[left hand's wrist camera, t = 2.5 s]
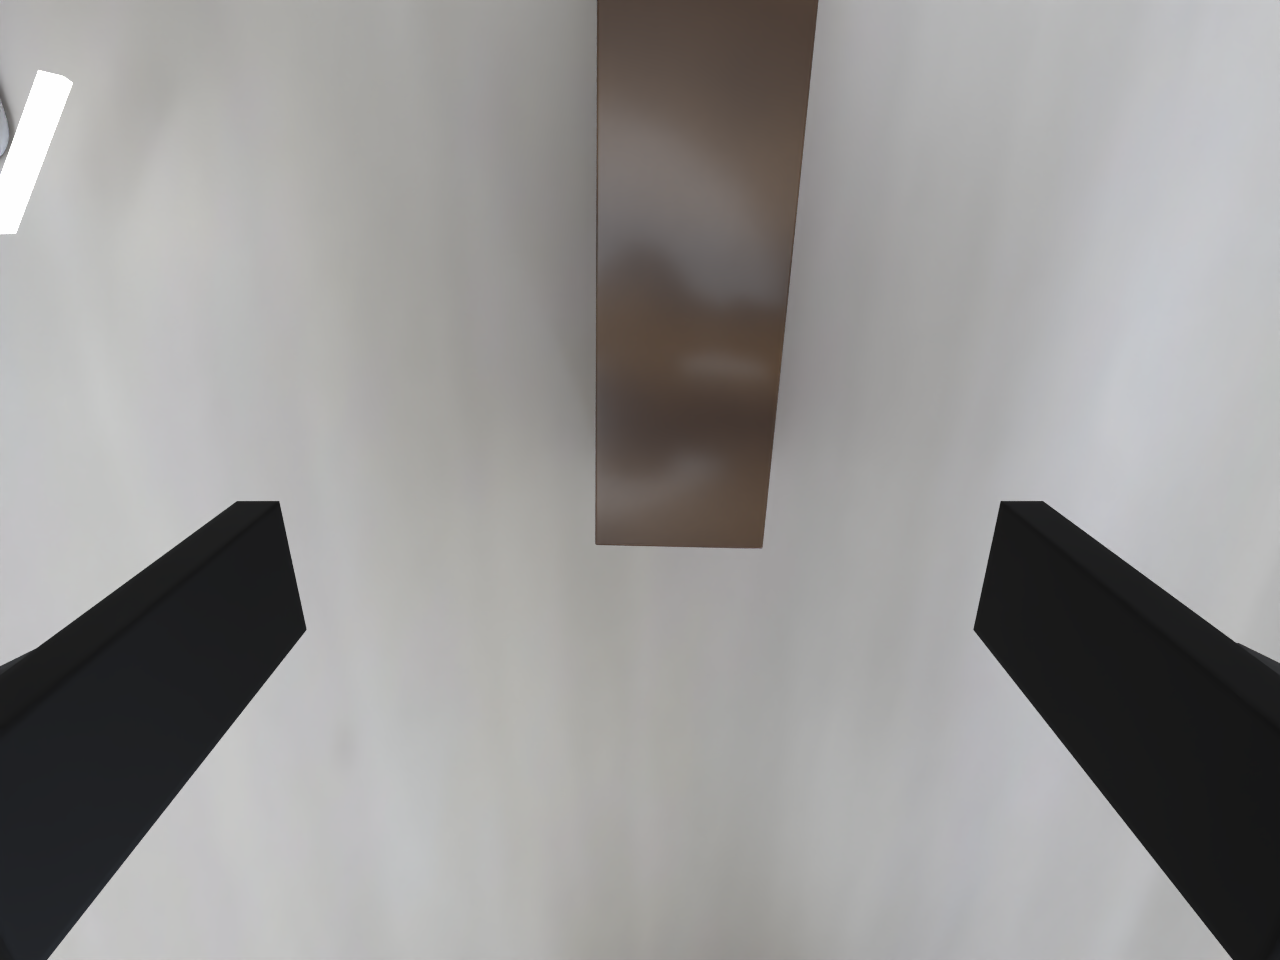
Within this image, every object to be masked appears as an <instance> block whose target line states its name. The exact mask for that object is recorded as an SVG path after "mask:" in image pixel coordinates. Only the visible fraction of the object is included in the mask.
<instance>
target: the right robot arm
mask: <svg viewBox="0 0 1280 960" xmlns="http://www.w3.org/2000/svg"><path fill="white" fill-rule="evenodd" d="M71 86H72V82H71V81H69V80H68V79H66V78H65V77H63V76H61V75H57V74H52V73H48V72H44V71H40V70H38V73H37V76H36V79H35V81H34V84H33V87H32V90H31V92H30V95H29V98H28V101H27V103H26V106H25V109H24V112H23V115H22V117H21V120H20V123H19V126H18V128H17V131H16V134H15V137H14V140H13V142H12V145H11V148H10V151H9V153H8V156H7V159H6V162H5V165H4V167H3V170H2V173H1V176H0V234H10V233H16V231H17V229H18V226H19V224H20V221H21V218H22V216H23V213H24V210H25V208H26V205H27V202H28V200H29V197H30V194H31V192H32V189H33V187H34V184H35V181H36V179H37V176H38V173H39V171H40V168H41V165H42V163H43V160H44V157H45V155H46V152H47V150H48V147H49V144H50V142H51V139H52V136H53V134H54V131H55V128H56V126H57V123H58V120H59V118H60V115H61V112H62V110H63V107H64V105H65V102H66V99H67V97H68V94H69V91H70V89H71ZM8 141H9V128H8V122H7V118H6V114H5V111H4V108H3V105H2V102H1V99H0V156H1V155H2V154H3V153H4V151H5V150H6V148H7V145H8Z"/></svg>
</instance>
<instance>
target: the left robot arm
mask: <svg viewBox="0 0 1280 960" xmlns="http://www.w3.org/2000/svg"><path fill="white" fill-rule="evenodd" d="M305 631H306V625H305V620H304V616H303V611H302V606H301V601H300V597H299V592H298V587H297V583H296V578H295V573H294V569H293V564H292V559H291V555H290V550H289V545H288V540H287V536H286V531H285V526H284V522H283V517H282V512H281V508H280V503H279V501H237V502H235V503H234V504H233V505H231V506H230V507H229V508H227V509H226V510H224V511H223V512H222V513H220V514H219V515H218V516H216V517H215V518H214V519H212V520H211V521H209V522H208V523H207V524H205V525H204V526H203V527H201V528H200V529H199V530H197V531H196V532H194V533H193V534H192V535H190V536H189V537H188V538H186V539H185V540H184V541H182V542H181V543H179V544H178V545H177V546H175V547H174V548H173V549H171V550H170V551H169V552H167V553H166V554H164V555H163V556H162V557H160V558H159V559H158V560H156V561H155V562H154V563H152V564H151V565H149V566H148V567H147V568H145V569H144V570H143V571H141V572H140V573H139V574H137V575H136V576H134V577H133V578H132V579H130V580H129V581H128V582H126V583H125V584H124V585H122V586H121V587H119V588H118V589H117V590H115V591H114V592H113V593H111V594H110V595H109V596H107V597H106V598H105V599H103V600H102V601H100V602H99V603H98V604H96V605H95V606H94V607H92V608H91V609H90V610H88V611H87V612H85V613H84V614H83V615H81V616H80V617H79V618H77V619H76V620H75V621H73V622H72V623H70V624H69V625H68V626H66V627H65V628H64V629H62V630H61V631H60V632H58V633H57V634H55V635H54V636H53V637H51V638H50V639H49V640H47V641H46V642H45V643H43V644H42V645H40V646H39V647H38V648H36V649H34V650H32V651H30V652H28V653H26V654H24V655H22V656H20V657H18V658H16V659H14V660H12V661H10V662H8V663H6V664H4V665H2V666H0V960H47V959H48V958H49V957H50V955H51V954H52V953H53V952H54V950H55V949H56V948H57V946H58V945H59V944H60V943H61V941H62V940H63V939H64V938H65V936H66V935H67V934H68V932H69V931H70V930H71V929H72V927H73V926H74V925H75V924H76V922H77V921H78V920H79V918H80V917H81V916H82V915H83V913H84V912H85V911H86V910H87V908H88V907H89V906H90V904H91V903H92V902H93V901H94V899H95V898H96V897H97V896H98V894H99V893H100V892H101V890H102V889H103V888H104V887H105V885H106V884H107V883H108V882H109V880H110V879H111V878H112V877H113V875H114V874H115V873H116V871H117V870H118V869H119V868H120V866H121V865H122V864H123V863H124V861H125V860H126V859H127V857H128V856H129V855H130V854H131V852H132V851H133V850H134V849H135V847H136V846H137V845H138V843H139V842H140V841H141V840H142V838H143V837H144V836H145V835H146V833H147V832H148V831H149V829H150V828H151V827H152V826H153V824H154V823H155V822H156V821H157V819H158V818H159V817H160V815H161V814H162V813H163V812H164V810H165V809H166V808H167V807H168V805H169V804H170V803H171V801H172V800H173V799H174V798H175V796H176V795H177V794H178V793H179V791H180V790H181V789H182V787H183V786H184V785H185V784H186V782H187V781H188V780H189V779H190V777H191V776H192V775H193V773H194V772H195V771H196V770H197V768H198V767H199V766H200V765H201V763H202V762H203V761H204V759H205V758H206V757H207V756H208V754H209V753H210V752H211V751H212V749H213V748H214V747H215V745H216V744H217V743H218V742H219V740H220V739H221V738H222V737H223V735H224V734H225V733H226V731H227V730H228V729H229V728H230V726H231V725H232V724H233V723H234V721H235V720H236V719H237V718H238V716H239V715H240V714H241V712H242V711H243V710H244V709H245V707H246V706H247V705H248V704H249V702H250V701H251V700H252V698H253V697H254V696H255V695H256V693H257V692H258V691H259V690H260V688H261V687H262V686H263V684H264V683H265V682H266V681H267V679H268V678H269V677H270V676H271V674H272V673H273V672H274V670H275V669H276V668H277V667H278V665H279V664H280V663H281V662H282V660H283V659H284V658H285V656H286V655H287V654H288V653H289V651H290V650H291V649H292V648H293V646H294V645H295V644H296V642H297V641H298V640H299V639H300V637H301V636H302V635H303V634H304V632H305ZM974 631H975V632H976V634H977V635H978V636H979V637H980V639H981V640H982V641H983V642H984V644H985V645H986V646H987V648H988V649H989V650H990V651H991V653H992V654H993V655H994V656H995V658H996V659H997V660H998V662H999V663H1000V664H1001V665H1002V667H1003V668H1004V669H1005V670H1006V672H1007V673H1008V674H1009V676H1010V677H1011V678H1012V679H1013V681H1014V682H1015V683H1016V684H1017V686H1018V687H1019V688H1020V690H1021V691H1022V692H1023V693H1024V695H1025V696H1026V697H1027V698H1028V700H1029V701H1030V702H1031V704H1032V705H1033V706H1034V707H1035V709H1036V710H1037V711H1038V712H1039V714H1040V715H1041V716H1042V718H1043V719H1044V720H1045V721H1046V723H1047V724H1048V725H1049V726H1050V728H1051V729H1052V730H1053V731H1054V733H1055V734H1056V735H1057V737H1058V738H1059V739H1060V740H1061V742H1062V743H1063V744H1064V745H1065V747H1066V748H1067V749H1068V751H1069V752H1070V753H1071V754H1072V756H1073V757H1074V758H1075V759H1076V761H1077V762H1078V763H1079V765H1080V766H1081V767H1082V768H1083V770H1084V771H1085V772H1086V773H1087V775H1088V776H1089V777H1090V779H1091V780H1092V781H1093V782H1094V784H1095V785H1096V786H1097V787H1098V789H1099V790H1100V791H1101V793H1102V794H1103V795H1104V796H1105V798H1106V799H1107V800H1108V801H1109V803H1110V804H1111V805H1112V807H1113V808H1114V809H1115V810H1116V812H1117V813H1118V814H1119V815H1120V817H1121V818H1122V819H1123V821H1124V822H1125V823H1126V824H1127V826H1128V827H1129V828H1130V829H1131V831H1132V832H1133V833H1134V835H1135V836H1136V837H1137V838H1138V840H1139V841H1140V842H1141V843H1142V845H1143V846H1144V847H1145V849H1146V850H1147V851H1148V852H1149V854H1150V855H1151V856H1152V857H1153V859H1154V860H1155V861H1156V863H1157V864H1158V865H1159V866H1160V868H1161V869H1162V870H1163V871H1164V873H1165V874H1166V875H1167V877H1168V878H1169V879H1170V880H1171V882H1172V883H1173V884H1174V885H1175V887H1176V888H1177V889H1178V890H1179V892H1180V893H1181V894H1182V896H1183V897H1184V898H1185V899H1186V901H1187V902H1188V903H1189V904H1190V906H1191V907H1192V908H1193V910H1194V911H1195V912H1196V913H1197V915H1198V916H1199V917H1200V918H1201V920H1202V921H1203V922H1204V924H1205V925H1206V926H1207V927H1208V929H1209V930H1210V931H1211V932H1212V934H1213V935H1214V936H1215V938H1216V939H1217V940H1218V941H1219V943H1220V944H1221V945H1222V946H1223V948H1224V949H1225V950H1226V952H1227V953H1228V954H1229V955H1230V957H1231V958H1232V959H1233V960H1280V663H1278V662H1276V661H1274V660H1272V659H1270V658H1268V657H1266V656H1264V655H1262V654H1260V653H1258V652H1256V651H1254V650H1252V649H1250V648H1248V647H1246V646H1244V645H1241V644H1239V643H1235V642H1234V641H1233V640H1231V639H1230V638H1229V637H1227V636H1226V635H1225V634H1223V633H1222V632H1220V631H1219V630H1218V629H1216V628H1215V627H1214V626H1212V625H1211V624H1210V623H1208V622H1207V621H1205V620H1204V619H1203V618H1201V617H1200V616H1199V615H1197V614H1196V613H1195V612H1193V611H1192V610H1190V609H1189V608H1188V607H1186V606H1185V605H1184V604H1182V603H1181V602H1180V601H1178V600H1177V599H1175V598H1174V597H1173V596H1171V595H1170V594H1169V593H1167V592H1166V591H1165V590H1163V589H1162V588H1160V587H1159V586H1158V585H1156V584H1155V583H1154V582H1152V581H1151V580H1150V579H1148V578H1147V577H1146V576H1144V575H1143V574H1141V573H1140V572H1139V571H1137V570H1136V569H1135V568H1133V567H1132V566H1131V565H1129V564H1128V563H1126V562H1125V561H1124V560H1122V559H1121V558H1120V557H1118V556H1117V555H1116V554H1114V553H1113V552H1111V551H1110V550H1109V549H1107V548H1106V547H1105V546H1103V545H1102V544H1101V543H1099V542H1098V541H1096V540H1095V539H1094V538H1092V537H1091V536H1090V535H1088V534H1087V533H1086V532H1084V531H1083V530H1081V529H1080V528H1079V527H1077V526H1076V525H1075V524H1073V523H1072V522H1071V521H1069V520H1068V519H1066V518H1065V517H1064V516H1062V515H1061V514H1060V513H1058V512H1057V511H1056V510H1054V509H1053V508H1051V507H1050V506H1049V505H1047V504H1046V503H1045V502H1043V501H1001V503H1000V508H999V512H998V517H997V522H996V526H995V531H994V536H993V540H992V545H991V550H990V555H989V559H988V564H987V569H986V573H985V578H984V583H983V587H982V592H981V597H980V601H979V606H978V611H977V616H976V620H975V625H974Z"/></svg>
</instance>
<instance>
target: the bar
mask: <svg viewBox="0 0 1280 960" xmlns="http://www.w3.org/2000/svg"><path fill="white" fill-rule="evenodd" d="M817 9H818V0H597V193H596V501H595V544H596V545H625V546H668V547H710V548H752V549H762V547H763V537H764V527H765V518H766V508H767V498H768V488H769V478H770V469H771V459H772V449H773V439H774V430H775V420H776V410H777V400H778V390H779V381H780V371H781V361H782V351H783V342H784V332H785V322H786V312H787V302H788V293H789V283H790V273H791V263H792V253H793V244H794V234H795V224H796V214H797V205H798V195H799V185H800V175H801V165H802V156H803V146H804V136H805V126H806V117H807V107H808V97H809V87H810V77H811V68H812V58H813V48H814V38H815V29H816V19H817Z"/></svg>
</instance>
